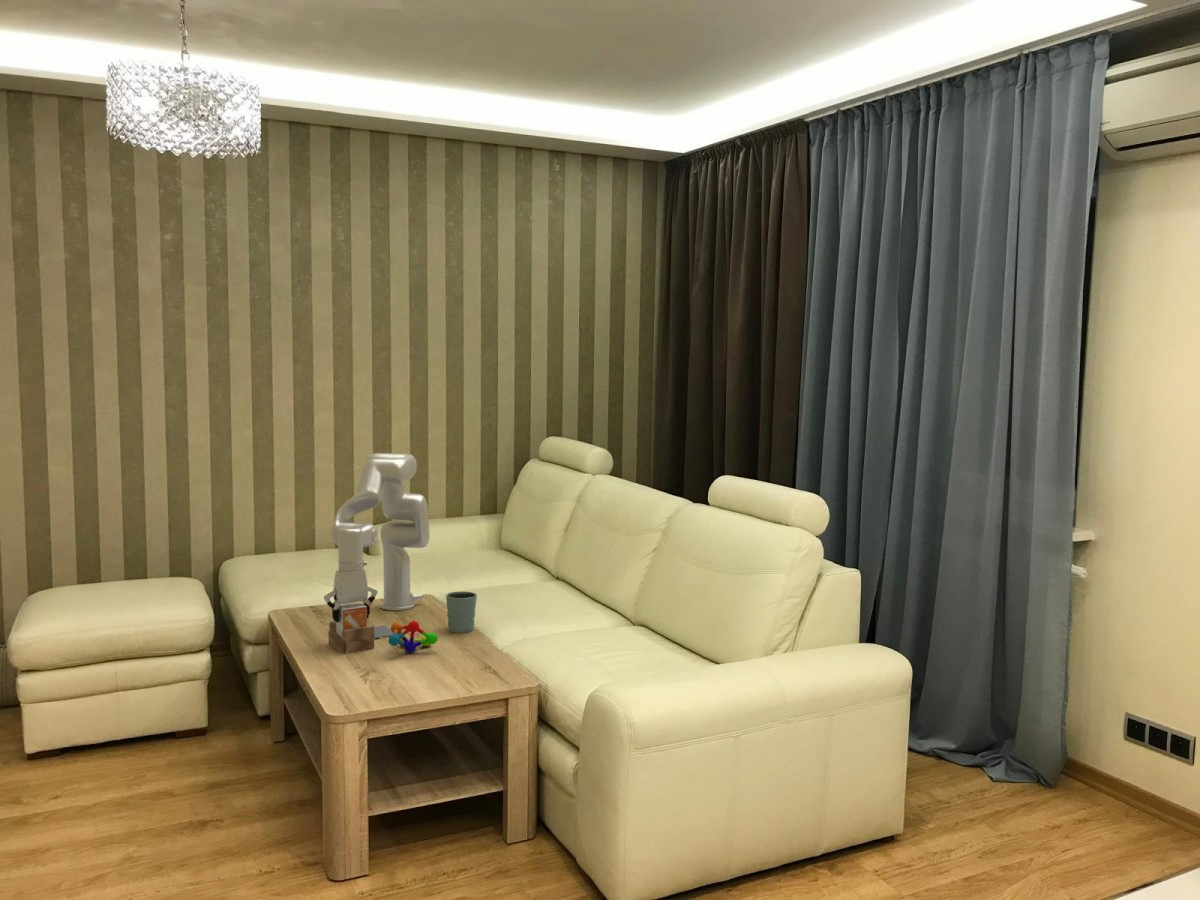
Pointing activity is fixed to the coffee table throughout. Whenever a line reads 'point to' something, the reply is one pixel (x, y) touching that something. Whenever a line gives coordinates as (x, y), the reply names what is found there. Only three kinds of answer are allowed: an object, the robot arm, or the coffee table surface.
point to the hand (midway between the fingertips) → (351, 619)
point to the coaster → (382, 631)
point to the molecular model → (410, 643)
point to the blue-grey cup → (461, 611)
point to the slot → (351, 638)
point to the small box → (351, 617)
